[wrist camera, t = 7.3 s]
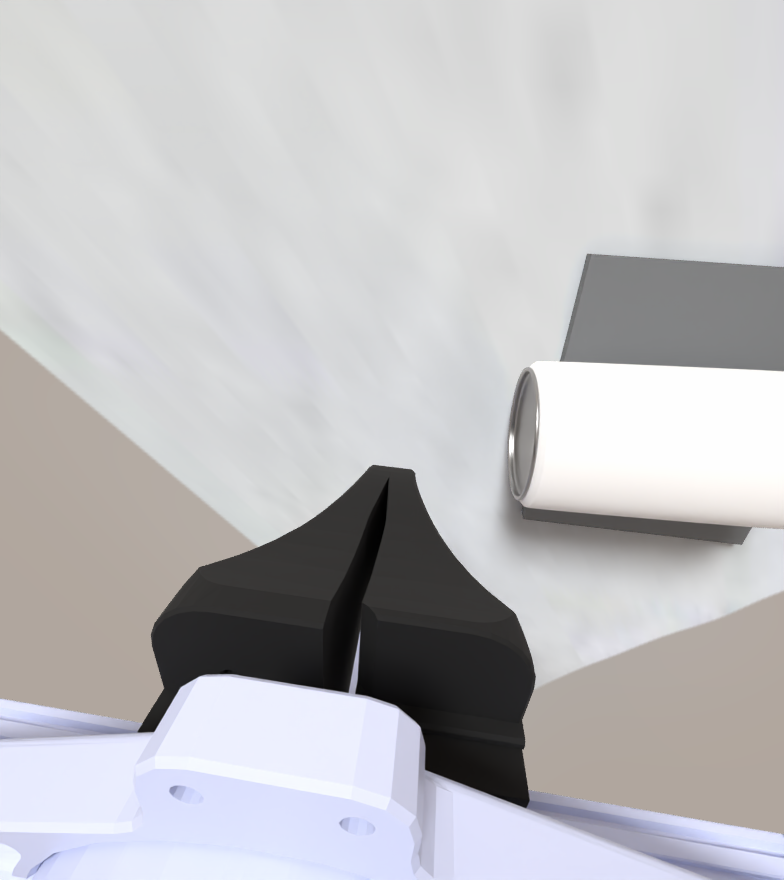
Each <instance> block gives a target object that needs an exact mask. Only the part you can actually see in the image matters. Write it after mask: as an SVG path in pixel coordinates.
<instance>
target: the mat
mask: <svg viewBox="0 0 784 880" xmlns="http://www.w3.org/2000/svg"><path fill="white" fill-rule="evenodd" d="M560 362H585V363H610V364H634V365H658V366H681V367H704V368H726V369H748V370H768V371H784V267H771V266H756V265H742V264H727V263H713V262H698V261H684V260H669V259H655V258H640V257H625V256H611V255H596V254H587V257H586V261H585V265H584V269H583V273H582V277H581V281H580V285H579V289H578V293H577V297H576V301H575V305H574V309H573V312H572V316H571V320H570V324H569V328H568V332H567V336H566V340H565V344H564V348H563V352H562V356H561V360H560ZM522 515H523V519H528V520H536V521H545V522H553V523H562V524H570V525H579V526H587V527H596V528H604V529H613V530H621V531H630V532H638V533H647V534H655V535H664V536H672V537H681V538H689V539H698V540H706V541H715V542H723V543H732V544H740V545H742V543H743V542H744V540H745V538H746V537H747V535H748V533H749V531H750V530H751V528H752V527H744V526H731V525H719V524H707V523H694V522H682V521H671V520H659V519H647V518H635V517H623V516H612V515H600V514H589V513H577V512H566V511H555V510H545V509H535V508H527V507H524V506H523V510H522Z"/></svg>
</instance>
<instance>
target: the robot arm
mask: <svg viewBox="0 0 784 880" xmlns="http://www.w3.org/2000/svg"><path fill="white" fill-rule="evenodd" d="M151 639H152V647H153V651H154V654H155V658H156V661H157V664H158V668H159V672H160V675H161V679H162V682H163V685H164V690H163V691H162V693H161V695H160V696H159V698H158V699H157V701H156V703H155V704H154V706H153V707H152V709H151V711H150V712H149V714H148V715H147V717H146V719H145V720H144V722H143V723H139V722H134V721H128V720H122V719H116V718H110V717H104V716H99V715H93V714H87V713H82V712H76V711H70V710H64V709H58V708H53V707H47V706H41V705H36V704H30V703H24V702H18V701H12V700H6V699H0V880H784V834H780V833H774V832H767V831H762V830H757V829H751V828H745V827H739V826H733V825H728V824H722V823H716V822H710V821H704V820H699V819H692V818H687V817H681V816H676V815H670V814H663V813H659V812H652V811H647V810H641V809H635V808H629V807H624V806H618V805H612V804H607V803H601V802H595V801H589V800H584V799H578V798H572V797H566V796H560V795H554V794H549V793H543V792H537V791H532V790H528V785H527V778H526V772H525V766H524V759H523V753H522V749H524V747H525V736H524V730H523V724H522V719H523V716H524V713H525V711H526V708H527V706H528V703H529V701H530V698H531V695H532V693H533V690H534V685H535V678H536V676H535V672H534V665H533V661H532V657H531V653H530V650H529V647H528V644H527V641H526V639H525V636H524V633H523V631H522V628H521V626H520V623H519V621H518V618H517V616H516V614H515V613H514V612H513V611H512V610H511V609H510V608H508V607H507V606H506V605H505V604H503V603H502V602H501V601H500V600H498V599H497V598H496V597H495V596H493V595H492V594H491V593H490V592H488V591H487V590H486V589H485V588H484V587H483V586H482V585H481V584H480V583H479V582H478V581H477V580H476V579H475V578H474V577H472V575H471V574H470V573H469V572H468V571H467V570H466V569H465V568H464V567H463V565H462V564H461V563H460V562H459V561H458V560H457V558H456V557H455V556H454V555H453V553H452V552H451V551H450V549H449V548H448V546H447V545H446V543H445V542H444V541H443V539H442V538H441V536H440V534H439V533H438V531H437V529H436V528H435V526H434V524H433V522H432V520H431V518H430V516H429V514H428V512H427V510H426V508H425V505H424V503H423V501H422V498H421V496H420V493H419V490H418V487H417V483H416V478H415V473H414V471H413V470H411V469H403V468H394V467H386V466H378V465H372V466H371V467H369V468H368V470H367V471H366V472H365V473H364V474H363V475H362V476H361V477H360V478H359V480H358V481H357V482H356V483H355V484H354V485H353V486H352V487H350V488H349V489H348V490H347V491H346V492H345V493H344V494H343V495H342V496H341V497H340V498H339V499H337V500H336V501H335V502H334V503H332V504H331V505H330V506H329V507H328V508H326V509H325V510H324V511H323V512H321V513H320V514H318V515H317V516H316V517H314V518H313V519H311V520H310V521H308V522H307V523H305V524H304V525H302V526H300V527H299V528H297V529H295V530H293V531H291V532H289V533H287V534H285V535H283V536H282V537H280V538H278V539H276V540H274V541H272V542H269V543H267V544H265V545H263V546H260V547H258V548H255V549H253V550H250V551H248V552H245V553H243V554H240V555H237V556H234V557H231V558H228V559H225V560H222V561H218V562H215V563H212V564H209V565H205V566H202V567H199V568H198V570H197V571H196V572H195V573H194V574H193V575H192V576H191V577H190V578H189V579H188V581H187V582H186V583H185V584H184V585H183V586H182V588H181V589H180V590H179V592H178V593H177V594H176V595H175V597H174V598H173V599H172V601H171V602H170V603H169V605H168V606H167V607H166V609H165V610H164V612H163V613H162V614H161V616H160V617H159V618H158V619H157V621H156V622H155V624H154V627H153V630H152V633H151Z"/></svg>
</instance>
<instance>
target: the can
mask: <svg viewBox="0 0 784 880" xmlns="http://www.w3.org/2000/svg"><path fill="white" fill-rule="evenodd" d="M508 473H509V482H510V488H511V492H512V494H513V497H514V498H515V499H516V500H519V501H520V502H521V504H522V505H523V506H524V507H527V508H535V509H545V510H555V511H566V512H577V513H589V514H600V515H612V516H623V517H635V518H647V519H659V520H671V521H682V522H694V523H707V524H719V525H731V526H744V527H757V528H773V529H784V371H768V370H748V369H726V368H704V367H681V366H658V365H634V364H610V363H585V362H557V361H536V362H534V363H533V364H532V365H531V366H530V367H527V368H525V369H524V370H523V371H522V373H521V374H520V377H519V379H518V382H517V385H516V389H515V393H514V398H513V403H512V409H511V416H510V424H509V436H508Z"/></svg>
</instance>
